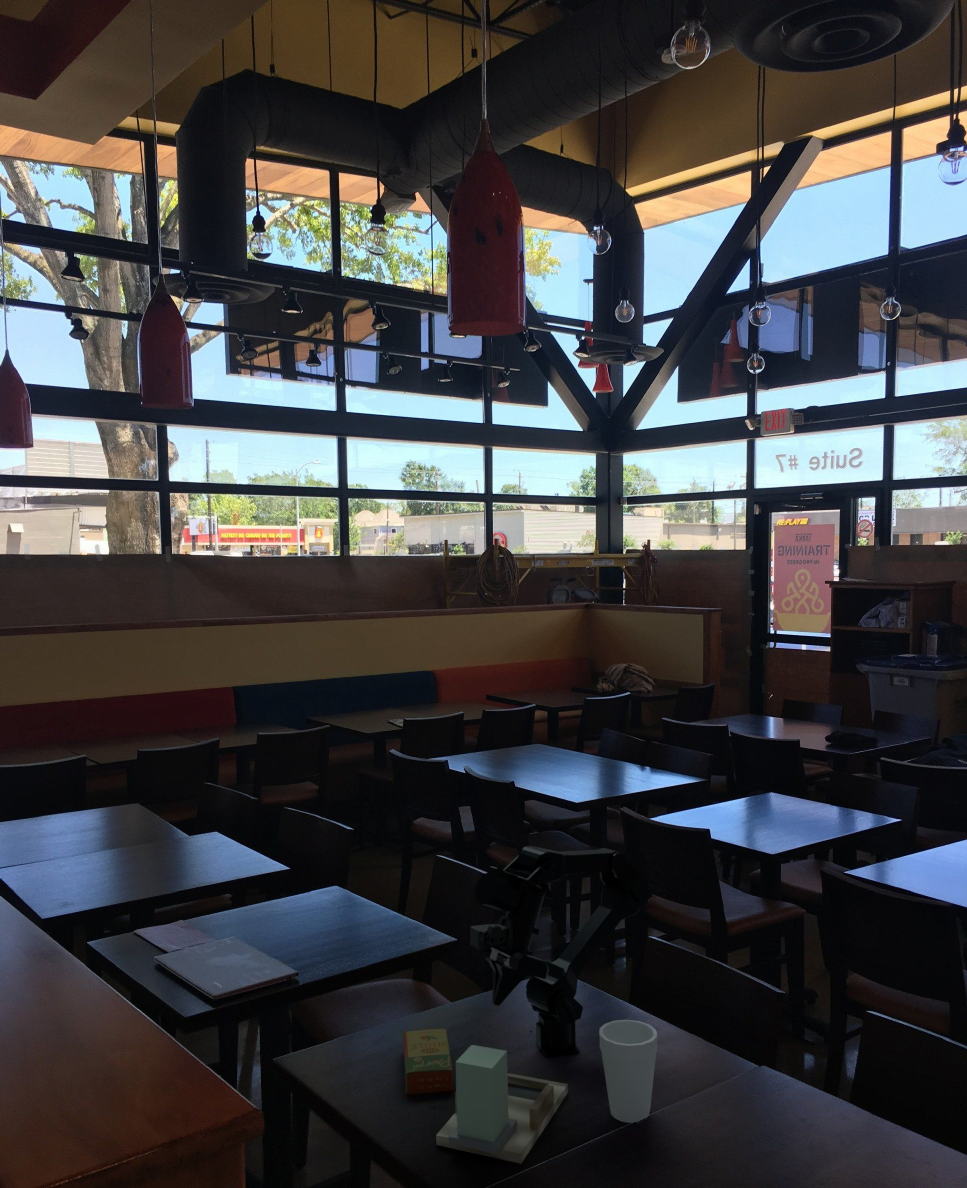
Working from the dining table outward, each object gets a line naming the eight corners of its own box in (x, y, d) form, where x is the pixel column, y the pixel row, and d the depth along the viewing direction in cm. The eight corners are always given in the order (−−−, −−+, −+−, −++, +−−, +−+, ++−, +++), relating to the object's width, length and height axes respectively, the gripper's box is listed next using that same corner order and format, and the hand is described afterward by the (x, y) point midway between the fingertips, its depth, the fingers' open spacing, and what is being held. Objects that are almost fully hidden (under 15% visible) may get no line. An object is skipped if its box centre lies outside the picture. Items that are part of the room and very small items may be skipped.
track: (491, 1078, 169) (491, 1052, 169) (567, 1092, 163) (567, 1066, 163) (436, 1144, 149) (435, 1115, 149) (521, 1163, 143) (520, 1133, 143)
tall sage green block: (470, 1116, 153) (468, 1040, 153) (517, 1126, 150) (515, 1049, 150) (448, 1142, 146) (446, 1063, 146) (497, 1153, 143) (495, 1072, 143)
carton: (447, 1049, 181) (446, 1027, 181) (454, 1093, 165) (454, 1068, 165) (402, 1052, 180) (402, 1030, 180) (405, 1096, 164) (405, 1071, 164)
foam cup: (663, 1102, 160) (661, 1023, 160) (654, 1131, 151) (652, 1048, 151) (607, 1094, 163) (605, 1016, 163) (595, 1122, 154) (593, 1040, 154)
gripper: (462, 895, 181) (436, 980, 177) (507, 914, 164) (479, 1008, 160) (512, 911, 185) (487, 994, 181) (561, 931, 168) (535, 1024, 164)
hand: (495, 1004), depth 171 cm, fingers closed
